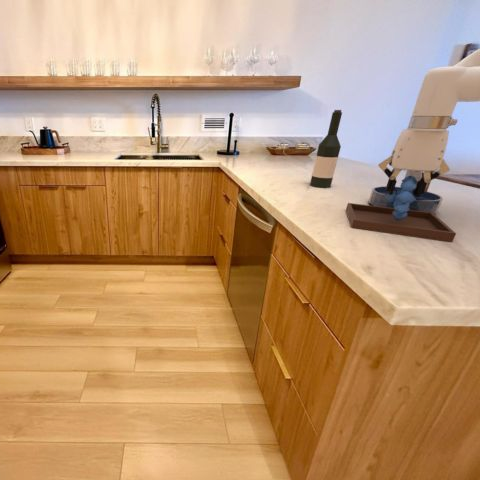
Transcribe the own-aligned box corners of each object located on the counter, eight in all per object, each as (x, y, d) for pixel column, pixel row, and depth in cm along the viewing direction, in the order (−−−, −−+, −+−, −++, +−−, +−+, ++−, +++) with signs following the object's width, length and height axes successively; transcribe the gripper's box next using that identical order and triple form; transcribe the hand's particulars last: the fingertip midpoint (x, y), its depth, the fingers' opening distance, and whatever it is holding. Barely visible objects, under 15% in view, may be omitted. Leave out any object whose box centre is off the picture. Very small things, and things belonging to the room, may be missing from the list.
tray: (429, 220, 86) (432, 212, 85) (452, 242, 71) (456, 233, 70) (345, 209, 94) (347, 202, 93) (351, 227, 80) (353, 219, 79)
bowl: (426, 203, 100) (431, 189, 98) (445, 220, 86) (452, 204, 83) (364, 197, 108) (368, 184, 106) (372, 211, 93) (377, 196, 91)
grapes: (381, 211, 88) (392, 171, 83) (410, 214, 84) (423, 173, 79) (377, 221, 80) (389, 178, 75) (408, 226, 76) (423, 180, 71)
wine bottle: (306, 185, 124) (322, 109, 112) (313, 182, 130) (329, 109, 117) (327, 189, 119) (346, 110, 106) (333, 185, 124) (353, 110, 112)
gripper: (466, 124, 71) (437, 195, 79) (383, 123, 78) (363, 188, 86) (481, 125, 65) (447, 202, 73) (389, 124, 72) (367, 194, 80)
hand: (402, 194), depth 79 cm, fingers closed on grapes, 5 cm apart
